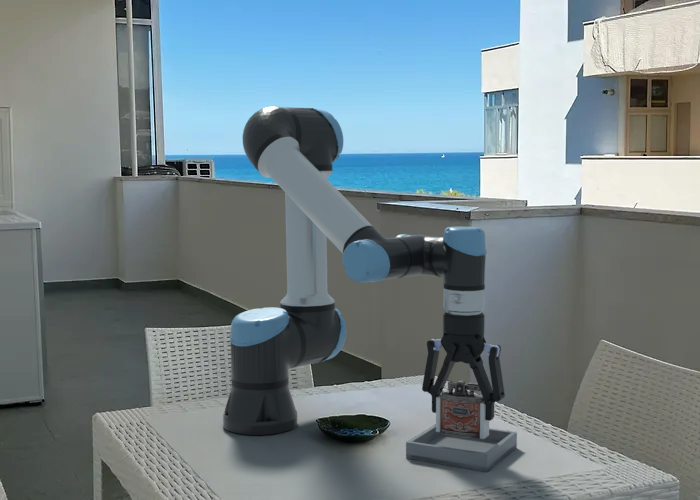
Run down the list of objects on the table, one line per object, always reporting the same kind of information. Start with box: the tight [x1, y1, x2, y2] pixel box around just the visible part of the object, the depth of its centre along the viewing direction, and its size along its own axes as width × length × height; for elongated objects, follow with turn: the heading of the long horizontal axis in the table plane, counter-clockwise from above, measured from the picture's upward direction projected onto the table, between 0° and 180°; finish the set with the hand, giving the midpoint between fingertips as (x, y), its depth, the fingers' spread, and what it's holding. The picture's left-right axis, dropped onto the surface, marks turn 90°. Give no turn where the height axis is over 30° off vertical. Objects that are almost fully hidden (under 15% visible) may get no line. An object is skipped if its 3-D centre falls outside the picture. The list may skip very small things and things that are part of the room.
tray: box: [405, 423, 518, 473], centre depth 172 cm, size 16×16×3 cm
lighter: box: [441, 379, 484, 439], centre depth 171 cm, size 8×3×10 cm, turn 68°
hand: (462, 433), depth 172 cm, fingers closed on lighter, 8 cm apart
